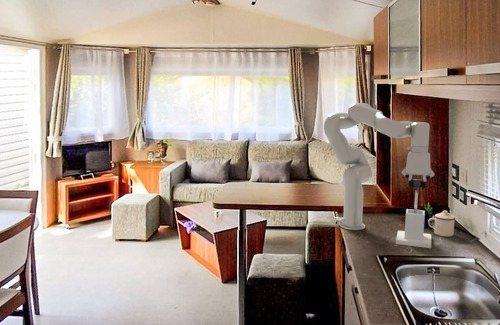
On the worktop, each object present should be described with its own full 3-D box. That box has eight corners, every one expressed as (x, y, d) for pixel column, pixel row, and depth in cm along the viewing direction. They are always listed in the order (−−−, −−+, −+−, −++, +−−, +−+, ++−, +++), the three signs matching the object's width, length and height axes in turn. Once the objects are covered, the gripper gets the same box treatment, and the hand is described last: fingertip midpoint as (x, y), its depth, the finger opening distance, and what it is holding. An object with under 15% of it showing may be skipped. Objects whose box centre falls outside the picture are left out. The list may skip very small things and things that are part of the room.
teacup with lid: (454, 232, 220) (456, 209, 218) (453, 238, 212) (454, 214, 210) (428, 229, 226) (430, 207, 224) (426, 234, 218) (427, 211, 216)
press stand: (395, 244, 203) (397, 214, 201) (397, 234, 217) (399, 206, 215) (431, 248, 198) (433, 217, 196) (430, 238, 212) (432, 209, 210)
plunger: (408, 219, 204) (410, 180, 202) (408, 215, 209) (411, 178, 207) (421, 220, 202) (423, 181, 200) (421, 217, 207) (423, 179, 205)
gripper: (399, 149, 201) (396, 189, 203) (439, 151, 194) (436, 192, 197) (400, 147, 207) (397, 186, 210) (439, 149, 201) (436, 189, 204)
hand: (416, 188), depth 204 cm, fingers closed on plunger, 4 cm apart
